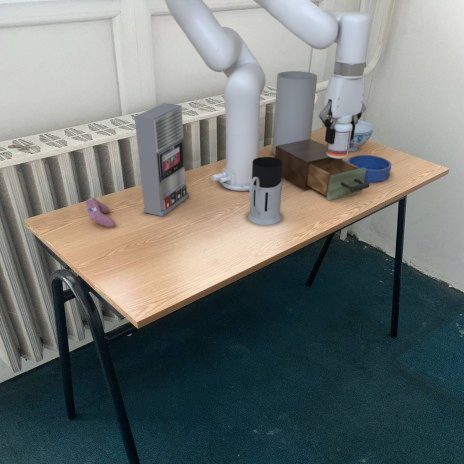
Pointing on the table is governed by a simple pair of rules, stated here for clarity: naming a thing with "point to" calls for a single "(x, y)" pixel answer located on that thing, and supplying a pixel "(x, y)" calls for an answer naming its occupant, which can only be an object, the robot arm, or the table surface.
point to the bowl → (372, 167)
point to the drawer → (336, 178)
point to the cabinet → (300, 160)
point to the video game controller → (99, 212)
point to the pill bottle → (341, 138)
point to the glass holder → (265, 191)
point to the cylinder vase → (294, 107)
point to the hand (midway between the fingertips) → (339, 139)
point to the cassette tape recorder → (161, 158)
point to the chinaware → (361, 134)
